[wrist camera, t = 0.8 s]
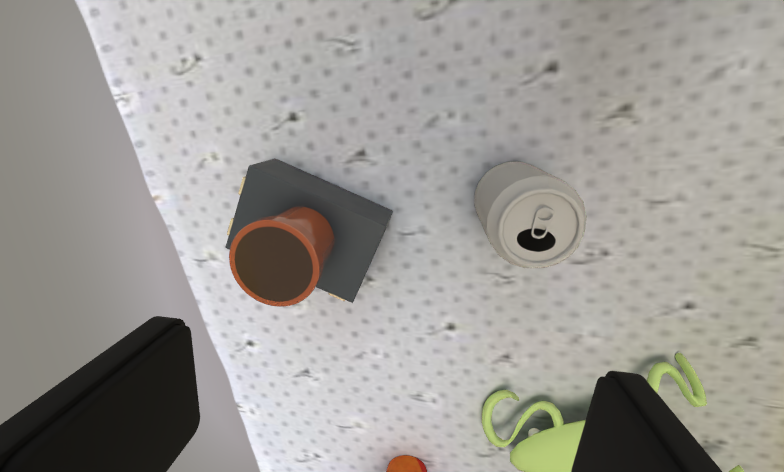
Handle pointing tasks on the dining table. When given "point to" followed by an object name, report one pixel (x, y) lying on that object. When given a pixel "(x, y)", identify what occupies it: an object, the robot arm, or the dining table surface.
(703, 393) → the figurine
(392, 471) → the paper cup
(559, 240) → the can
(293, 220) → the terracotta pot
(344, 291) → the dark grey striped block
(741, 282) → the dining table surface
